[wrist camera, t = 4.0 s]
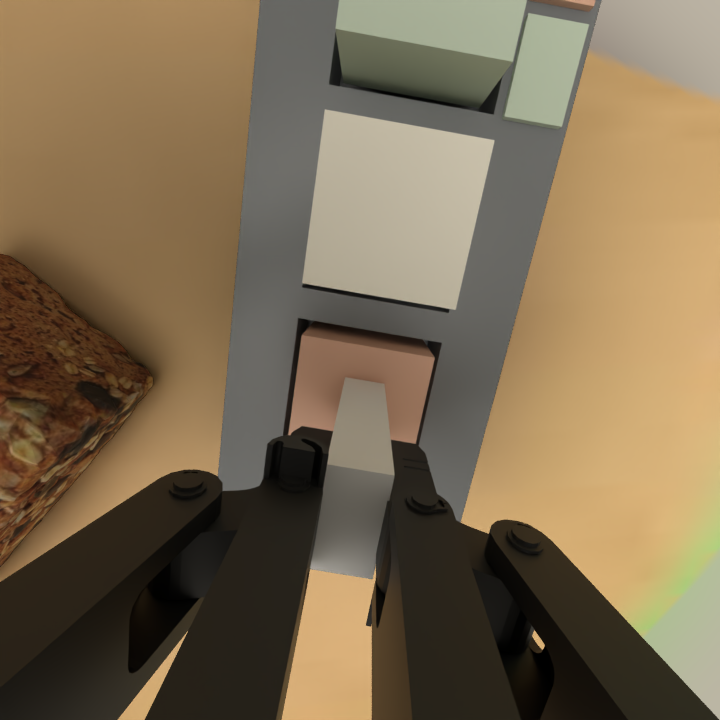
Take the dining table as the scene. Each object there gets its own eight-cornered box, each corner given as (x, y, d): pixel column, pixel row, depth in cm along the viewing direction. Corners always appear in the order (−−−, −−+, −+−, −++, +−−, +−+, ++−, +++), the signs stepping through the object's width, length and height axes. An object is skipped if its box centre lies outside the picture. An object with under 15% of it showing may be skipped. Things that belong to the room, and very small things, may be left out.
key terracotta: (314, 320, 18) (301, 335, 15) (422, 339, 18) (434, 358, 15) (300, 421, 19) (285, 456, 16) (401, 438, 19) (408, 476, 16)
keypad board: (305, -128, 15) (280, -271, 11) (581, -75, 16) (658, -196, 11) (244, 450, 22) (213, 496, 17) (442, 483, 22) (459, 536, 18)
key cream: (335, 143, 15) (324, 109, 11) (466, 167, 15) (494, 140, 11) (316, 278, 16) (302, 283, 13) (437, 299, 16) (455, 309, 13)
